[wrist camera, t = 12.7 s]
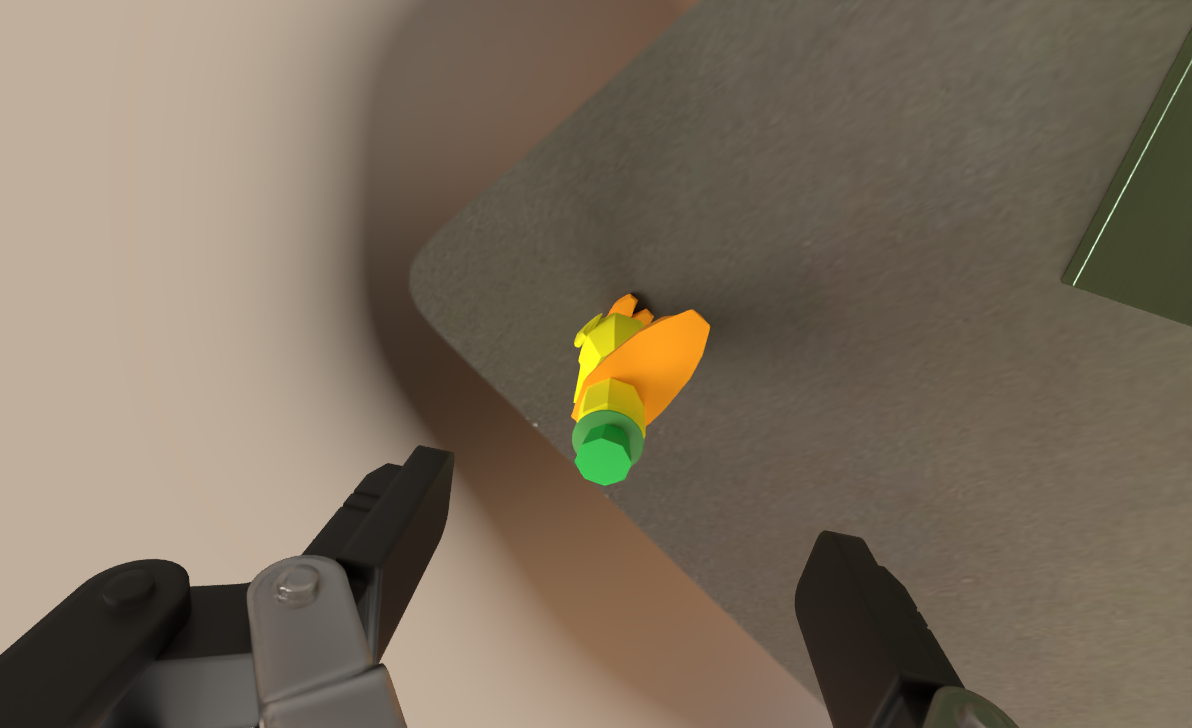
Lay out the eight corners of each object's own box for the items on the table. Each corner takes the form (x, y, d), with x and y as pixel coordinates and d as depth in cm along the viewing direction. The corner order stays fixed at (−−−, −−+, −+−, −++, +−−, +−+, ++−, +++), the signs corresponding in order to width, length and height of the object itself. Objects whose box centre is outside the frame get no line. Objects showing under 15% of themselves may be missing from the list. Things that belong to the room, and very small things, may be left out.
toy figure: (652, 236, 25) (666, 313, 14) (709, 289, 26) (765, 403, 15) (555, 341, 27) (500, 481, 16) (610, 388, 28) (594, 552, 17)
